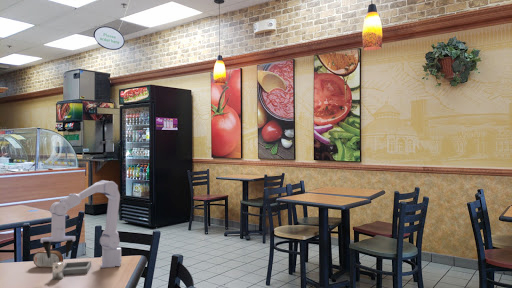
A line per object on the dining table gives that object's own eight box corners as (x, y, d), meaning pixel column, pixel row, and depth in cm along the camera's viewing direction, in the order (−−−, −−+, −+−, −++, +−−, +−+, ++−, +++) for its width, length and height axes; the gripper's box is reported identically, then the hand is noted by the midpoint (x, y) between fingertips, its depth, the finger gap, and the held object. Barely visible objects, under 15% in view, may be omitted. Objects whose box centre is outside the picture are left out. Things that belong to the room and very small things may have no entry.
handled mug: (64, 276, 182) (64, 261, 182) (61, 280, 177) (61, 265, 177) (53, 277, 181) (54, 262, 181) (50, 281, 176) (50, 265, 176)
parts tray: (91, 265, 198) (91, 261, 198) (87, 273, 186) (87, 268, 186) (65, 267, 195) (65, 262, 195) (60, 275, 183) (60, 270, 183)
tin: (63, 266, 197) (63, 250, 197) (59, 268, 193) (60, 252, 193) (36, 265, 198) (36, 249, 198) (31, 267, 195) (32, 251, 195)
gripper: (38, 230, 174) (38, 260, 174) (73, 229, 178) (73, 258, 178) (43, 227, 181) (42, 256, 181) (76, 225, 184) (76, 254, 184)
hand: (58, 257), depth 180 cm, fingers open, 7 cm apart
